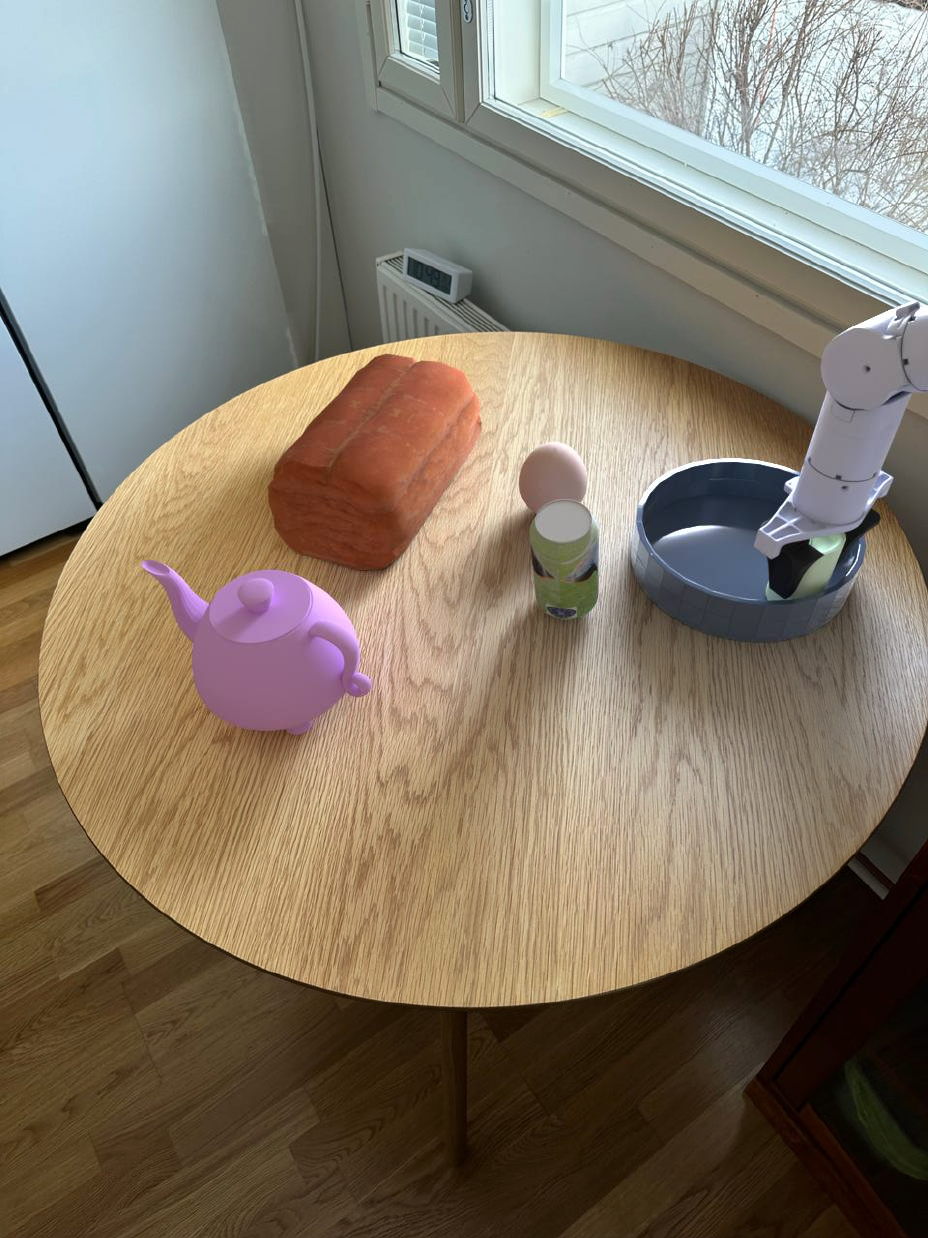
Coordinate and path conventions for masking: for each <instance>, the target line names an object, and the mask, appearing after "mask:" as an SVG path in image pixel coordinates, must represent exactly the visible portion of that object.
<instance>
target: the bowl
mask: <svg viewBox="0 0 928 1238" xmlns="http://www.w3.org/2000/svg"><path fill="white" fill-rule="evenodd" d="M800 473H801V471H797V470H795V469H791V468H789V467H787V466H783V465H780V464H775V463H771V462H766V461H762V460H755V459H745V458H733V457H731V458H712V459H706V460H700V461H694V462H690V463H687V464H685V465H682V466H679V467H676V468H673V469H671V470H669V471H668V472H666V473H665V474H663V475H661V476H660V477H658V478H657V479H656V480H654V481H653V482H652V484H651V485H649V487H647V489H646V490H645V491H644V492H643V493H642V496H641V498H640V500H639V503H638V504H637V507H636V513H635V520H634V527H633V533H632V539H631V549H630V563H631V568H632V571H633V574H634V577H635V579H636V582H637V583H638V585H639V586H640V588H641V590H642V591H643V593H644V594H645V595H646V596H647V598H648V599H650V601H651V602H653V604H655V605H656V606H657V607H658V608H659V609H660V610H661V611H662V612H664V613H665V614H667V615H668V616H669V617H671V618H673V619H675V620H676V621H678V622H679V623H681V624H683V625H685V626H687V627H689V628H692V629H694V630H696V631H699V632H702V633H704V634H707V635H710V636H713V637H717V638H721V639H724V640H731V641H736V642H746V643H772V642H773V643H774V642H782V641H787V640H791V639H792V640H793V639H796V638H799V637H802V636H806V635H808V634H810V633H813V632H815V631H816V630H819V629H820V628H822V627H823V626H825V625H826V624H828V623H830V622H831V621H832V620H833V618H835V617H836V616H837V614H839V612H840V611H841V610H842V609H843V606H844V604H845V603H846V601H847V599H848V598H849V596H850V594H851V592H852V589H853V587H854V584H855V582H856V580H857V578H858V575H859V573H860V571H861V568H862V566H863V564H864V561H865V556H866V550H867V542H866V534H864V535H863V536H862V537H861V538H860V539H859V540H858V541H857V542H856V543H855V544H854V545H853V546H852V547H851V548H850V549H849V551H848V552H847V553H846V554H845V556H844V557H843V558H842V559H841V561H840V562H839V563H838V565H837V566H836V567H835V568H834V571H833V573H832V576H831V578H830V580H829V583H828V585H827V588H826V589H825V590H823V591H821V592H818V593H816V594H814V595H810V596H805V597H801V598H796V599H792V600H770V601H768V600H767V597H766V588H767V584H768V581H769V572H768V561H767V556H766V555H764V554H763V553H761V552H760V551H759V550H758V549H756V548H755V547H754V543H755V540H756V537H757V533H758V530H759V529H760V526H761V524H762V523H763V522H765V521H767V520H769V519H771V518H773V517H774V515H775V514H776V513H777V511H778V510H779V509H780V507H781V506H782V505H783V503H784V502H785V501H786V499H787V498H788V497H789V494H788V493H787V492H785V491H784V486H785V483H786V482H787V481H789V480H791V479H793V478H795V477H798V476H800Z"/></svg>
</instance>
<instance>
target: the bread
mask: <svg viewBox="0 0 928 1238" xmlns="http://www.w3.org/2000/svg"><path fill="white" fill-rule="evenodd" d="M481 410H482V406H481V403H480V400H479V397H478V394H476V393H475V392H474V391H473V388H472V385H471V383H470V381H469V380H468V377H467V376H466V374H465V372H464V371H463V370H460V369H458V368H455V367H454V366H451V365H448V364H446V363H444V362H441V361H434V360H420V361H417V360H416V359H415V358H413V357H410V356H403V355H398V354H393V353H383V354H380V355H377V356H373V358H372V359H371V360H370V361H369V362H368V363H366V365H364V366H363V367H361V368H360V369H358V370H356V372H355V374H354V375H353V376H352V377H351V378H350V380H349V381H347V384H346V385H344V387H343V388H342V389H341V390H340V392H339V393H338V395H336V396H335V397H334V398H333V399H332V400H331V401H330V402H329V403H328V404H327V405H326V406H325V407H324V408H323V409H322V410H321V411H320V413H318V414H317V415H316V416H315V417H314V418H313V419H312V420H311V421H310V422H309V423H308V424H307V426H306V427H305V429H304V431H303V432H302V434H301V435H300V436H299V437H298V438H297V439H296V440H295V441H294V442H293V443H291V445H290V446H289V447H288V448H287V449H286V450H285V451H284V452H283V453H282V455H281V456H280V458H278V460H277V462H276V463H275V464H274V468H273V474H272V476H273V477H272V480H271V481H270V482H269V484H267V485H268V486H267V503H268V506H269V509H270V511H271V515H272V517H273V526H274V529H275V531H276V532H277V533H278V535H279V536H280V538H281V539H282V540H283V542H284V543H285V544H286V545H287V546H288V547H289V548H290V549H291V550H292V551H293V552H294V553H297V554H300V555H304V556H308V557H311V558H315V559H318V560H322V561H325V562H328V563H333V564H337V565H339V566H344V567H347V568H350V569H354V570H357V571H372V570H374V571H375V570H384V569H386V568H387V567H388V566H389V565H391V564H392V563H393V562H394V561H396V560H397V559H398V558H399V557H401V556H402V555H403V554H404V553H406V551H407V549H408V548H409V547H410V545H411V543H412V542H413V540H414V539H415V538H416V536H417V534H418V533H419V531H420V530H421V528H422V527H423V525H424V524H425V522H426V521H427V519H428V518H429V516H430V515H431V513H432V512H433V510H434V509H435V507H436V506H437V504H438V503H439V501H440V499H441V498H442V497H443V495H444V493H445V492H446V490H447V489H448V488H449V486H450V484H451V482H452V481H453V480H454V478H455V477H456V475H457V473H458V472H459V470H460V469H461V467H462V465H463V464H464V463H465V461H466V459H467V458H468V456H469V455H470V453H471V451H472V450H473V448H474V446H475V444H476V443H477V441H478V439H479V437H480V435H481V433H482V419H481V416H480V413H481Z"/></svg>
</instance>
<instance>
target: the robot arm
mask: <svg viewBox="0 0 928 1238" xmlns="http://www.w3.org/2000/svg"><path fill="white" fill-rule="evenodd" d="M820 374H821V379H822V382H823V384H824V385H823V386H824V387H825V389H826V393H825V396H824V399H823V403H822V405H821V408H820V412H819V415H818V418H817V421H816V424H815V427H814V430H813V433H812V437H811V440H810V443H809V445H808V446H809V447H808V448H807V452H806V455H805V457H804V461H803V465H802V467H801V471H800V476H798V477H795V478H793V479H791V480H789V481H787V482H786V483H785V486H784V491H785V492H787V493H788V494H789V497H788V498H787V499H786V501H785V502H784V503H783V505H782V506H781V507H780V509H779V510H778V511H777V513H776V514H775V515H774V517H773V518H771V519H769V520H767V521H765V522H763V523H762V524H761V526H760V529H759V530H758V533H757V537H756V540H755V543H754V547H755V548H756V549H758V550H759V551H760V552H761V553H763V554H764V555H766V556H767V561H768V572H769V588H770V589H771V590H773V591H774V592H775V593H776V594H778V595H779V596H780V597H782V598H783V599H787V598H789V597H790V596H791V595H792V594H793V593H794V592H795V591H796V589H797V587H798V585H799V583H800V582H801V580H802V578H803V576H804V574H805V573H806V572H807V570H808V569H809V568H810V567H811V566H812V565H813V564H814V563H815V562H816V561H817V560H818V559H820V558H821V557H822V556H824V554H823V553H821V552H820V551H818V550H817V549H815V548H814V547H812V546H811V545H810V544H809V542H810V539H812V538H817V537H822V536H827V535H833V534H838V533H843V532H844V533H845V535H846V541H845V543H844V546H843V548H842V551H841V553H840V556H839V558H838V561H837V563H836V566H837V565H838V563H839V562H840V561H841V559H842V558H843V557H844V556H845V554H846V553H847V552H848V551H849V549H850V548H851V547H852V546H853V545H854V544H855V543H856V542H857V541H858V540H859V539H860V538H861V537H862V536H863V535H866V534H867V533H868V532H869V531H870V530H873V529H874V528H875V527H876V526H878V525H879V524H880V522H881V519H882V517H881V514H880V513H879V512H878V511H877V510H875V509H873V508H872V507H873V505H874V504H875V502H876V501H877V499H881V498H883V497H885V496H887V495H888V492H889V490H890V488H891V485H892V483H893V481H894V477H893V476H892V475H890V474H888V473H886V472H885V471H883V470H882V468H883V465H884V463H885V460H886V459H887V456H888V453H889V451H890V449H891V446H892V444H893V442H894V439H895V437H896V434H897V431H898V430H899V427H900V424H901V422H902V420H903V417H904V414H905V412H906V410H907V407H908V405H909V403H910V402H909V401H910V400H911V397H912V395H913V393H914V394H924V393H928V305H926V306H921V304H920V301H916V300H915V301H910V302H907V303H905V304H902V305H899V306H897V308H892V309H889V310H888V311H885V312H883V313H881V314H879V315H877V316H874V317H872V318H870V319H868V320H866V321H864V322H861V323H859V324H857V325H855V326H854V325H853V326H852V327H850V328H848V329H845V330H843V331H842V332H841V333H840V334H838V335H836V336H834V337H833V338H832V339H831V340H830V341H829V342H828V343H827V344H826V347H825V348H824V350H823V353H822V356H821V360H820ZM836 566H835V567H836Z"/></svg>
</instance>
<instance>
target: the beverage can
mask: <svg viewBox="0 0 928 1238" xmlns="http://www.w3.org/2000/svg"><path fill="white" fill-rule="evenodd" d="M528 533H529V544H530V552H531V555H530V556H531V564H532V575H533V584H534V592H535V593H534V594H535V601H536V604H537V606H538V607H539V609H540V610H541V611H542V612H543V613H544V614H545V615H548V616H549V617H551V618H553V619H556V620H563V621H570V620H575V619H579V618H581V617H584V616H586V615H587V614H589V613H590V612H591V611H592V610H593V609H594V608H595V606H596V605H597V603H598V600H599V593H600V589H599V588H600V587H599V586H600V583H599V582H600V581H599V580H600V577H599V576H600V527H599V524H598V521H597V519H596V518H595V516H594V515H593V514H592V512H591V511H590V509H589V508H588V507H587V505H585V504H583V503H582V502H581V503H580V502H578V501H574V500H569V499H561V500H555V501H552V502H550V503H548V504H546V505H544V506H543V507H542V508H541V509H540V510H539V511H538V513H537V514H536V516H535V517H534V518H533V520H532V521H531V524H530V527H529V532H528Z"/></svg>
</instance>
